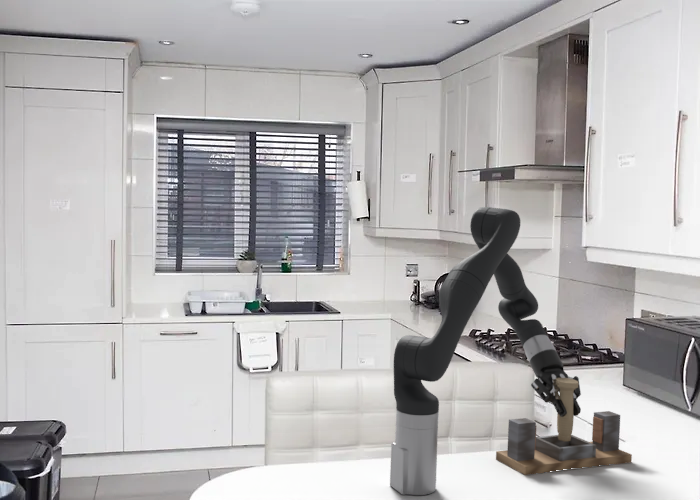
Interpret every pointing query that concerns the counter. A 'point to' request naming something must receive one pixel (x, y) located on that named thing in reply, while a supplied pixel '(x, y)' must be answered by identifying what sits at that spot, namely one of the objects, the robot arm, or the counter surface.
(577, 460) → the brown and grey holder
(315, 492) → the counter surface
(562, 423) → the handle
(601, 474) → the counter surface
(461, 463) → the counter surface
